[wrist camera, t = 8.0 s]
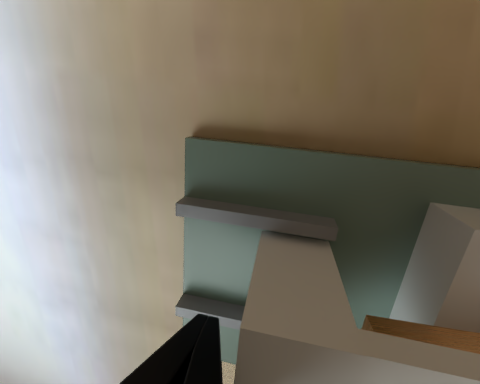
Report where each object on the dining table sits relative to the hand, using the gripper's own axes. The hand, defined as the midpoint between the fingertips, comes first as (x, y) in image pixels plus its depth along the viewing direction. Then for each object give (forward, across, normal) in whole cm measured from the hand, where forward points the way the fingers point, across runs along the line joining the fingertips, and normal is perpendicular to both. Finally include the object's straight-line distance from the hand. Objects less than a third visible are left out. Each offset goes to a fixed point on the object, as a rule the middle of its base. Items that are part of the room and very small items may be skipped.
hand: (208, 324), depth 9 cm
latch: (+4, -4, 0) cm, 6 cm away
